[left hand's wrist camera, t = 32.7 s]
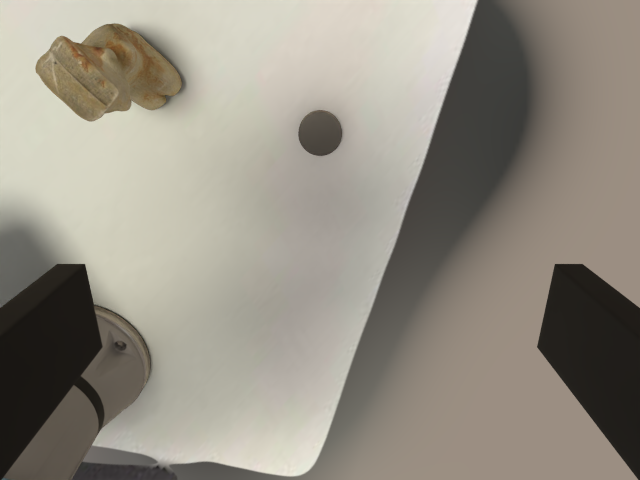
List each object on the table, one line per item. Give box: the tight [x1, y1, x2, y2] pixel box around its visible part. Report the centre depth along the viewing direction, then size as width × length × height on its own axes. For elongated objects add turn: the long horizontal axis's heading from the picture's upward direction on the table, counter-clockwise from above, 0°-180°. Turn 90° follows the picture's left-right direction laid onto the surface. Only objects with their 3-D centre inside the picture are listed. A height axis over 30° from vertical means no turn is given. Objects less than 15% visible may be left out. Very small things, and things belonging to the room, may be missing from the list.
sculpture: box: [36, 24, 182, 121], centre depth 35 cm, size 6×7×15 cm
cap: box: [299, 110, 342, 156], centre depth 44 cm, size 4×4×2 cm
